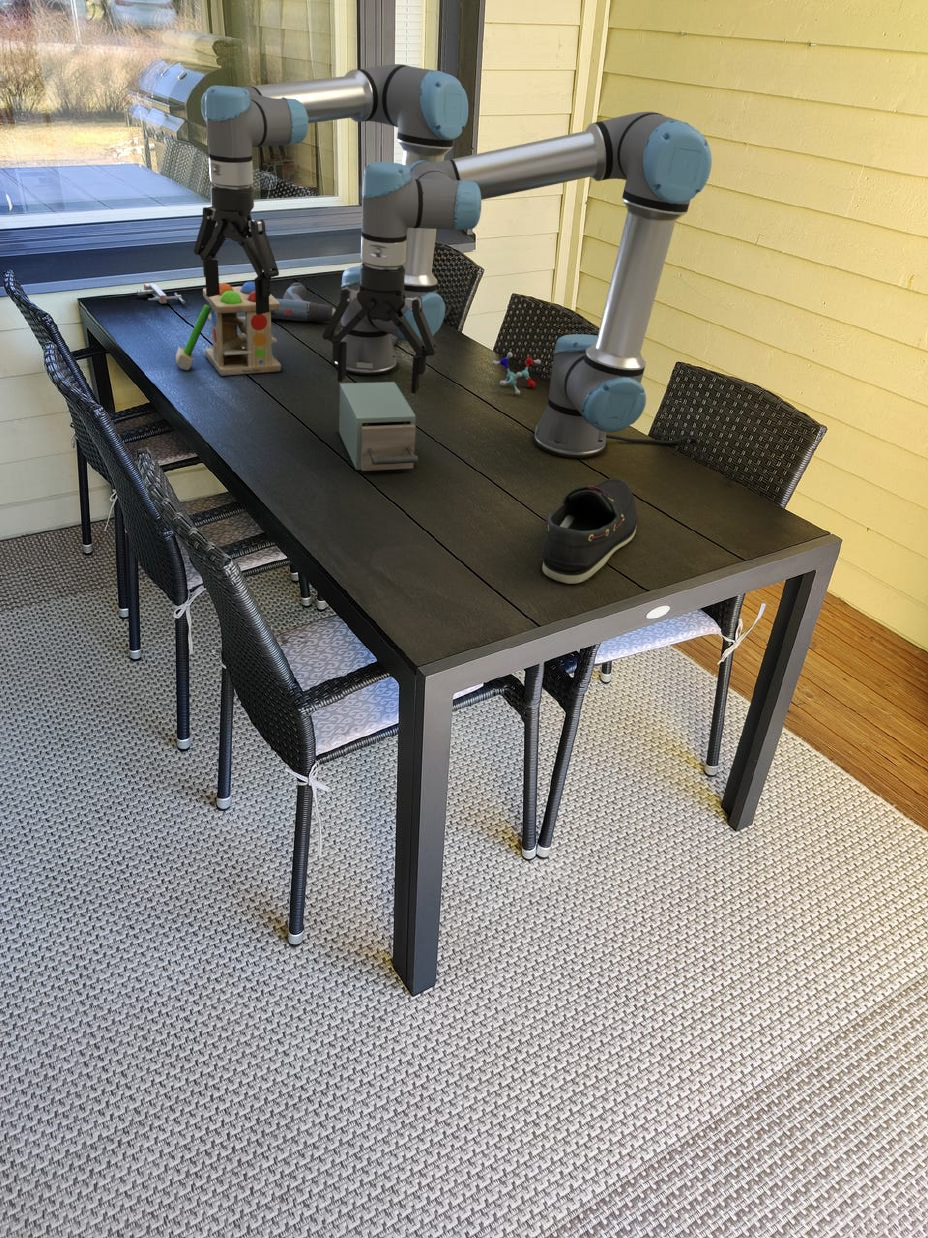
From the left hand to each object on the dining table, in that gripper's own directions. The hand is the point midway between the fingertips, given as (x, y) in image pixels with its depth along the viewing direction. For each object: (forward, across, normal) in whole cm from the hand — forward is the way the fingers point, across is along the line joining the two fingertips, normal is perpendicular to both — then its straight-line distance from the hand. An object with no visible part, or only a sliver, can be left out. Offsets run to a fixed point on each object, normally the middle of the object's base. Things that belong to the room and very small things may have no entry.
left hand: (237, 304), depth 187 cm
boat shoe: (+26, +76, +11) cm, 81 cm away
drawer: (+25, +30, +9) cm, 40 cm away
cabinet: (+26, +25, +12) cm, 38 cm away
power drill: (+26, -45, +65) cm, 83 cm away
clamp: (+26, -78, +42) cm, 92 cm away
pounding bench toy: (+26, -30, +22) cm, 45 cm away
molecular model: (+26, +25, +62) cm, 72 cm away
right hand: (+7, +34, +2) cm, 35 cm away
